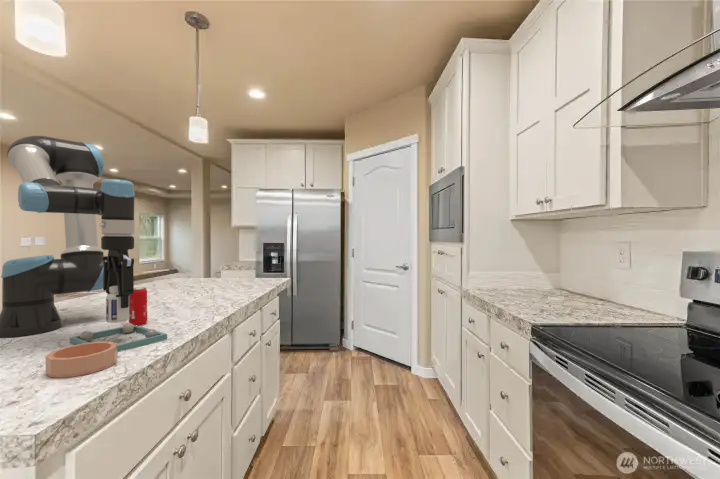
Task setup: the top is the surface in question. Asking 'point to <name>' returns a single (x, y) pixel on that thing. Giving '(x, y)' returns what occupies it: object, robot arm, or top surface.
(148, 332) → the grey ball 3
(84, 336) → the taupe ball
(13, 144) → the robot arm
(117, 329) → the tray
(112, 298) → the pill bottle
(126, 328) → the pebble
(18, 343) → the top surface
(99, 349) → the bowl
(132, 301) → the beverage can
